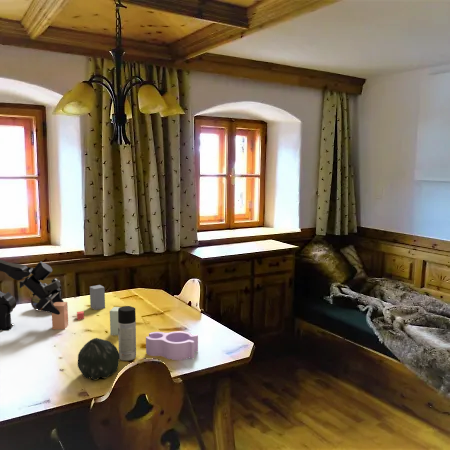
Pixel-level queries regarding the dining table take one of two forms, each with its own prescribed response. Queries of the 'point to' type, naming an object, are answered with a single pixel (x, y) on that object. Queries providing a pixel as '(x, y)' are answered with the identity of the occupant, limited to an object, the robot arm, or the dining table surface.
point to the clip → (172, 345)
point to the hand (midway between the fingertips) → (62, 310)
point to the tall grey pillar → (97, 297)
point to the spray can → (127, 333)
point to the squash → (98, 359)
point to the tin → (35, 302)
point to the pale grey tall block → (114, 321)
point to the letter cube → (80, 315)
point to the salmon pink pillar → (60, 316)
